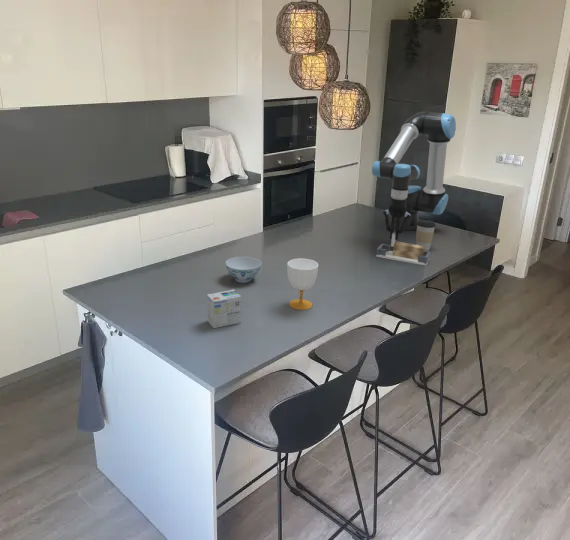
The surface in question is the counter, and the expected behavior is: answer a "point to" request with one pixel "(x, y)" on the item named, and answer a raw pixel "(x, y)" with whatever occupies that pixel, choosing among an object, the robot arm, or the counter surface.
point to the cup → (301, 279)
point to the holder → (385, 253)
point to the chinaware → (243, 268)
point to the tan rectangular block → (408, 250)
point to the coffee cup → (425, 233)
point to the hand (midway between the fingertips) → (393, 245)
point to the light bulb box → (224, 308)
